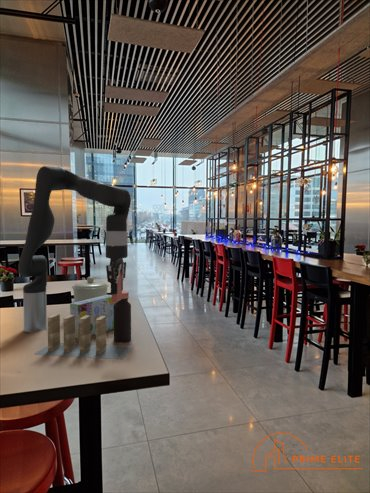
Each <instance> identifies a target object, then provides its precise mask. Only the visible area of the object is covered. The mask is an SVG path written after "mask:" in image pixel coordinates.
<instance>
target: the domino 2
mask: <svg viewBox="0 0 370 493" xmlns="http://www.w3.org/2000/svg"><path fill="white" fill-rule="evenodd" d="M62 321H63V324H62V326H63V343H64V352H69V351H71V350H72V349H73V348H75V344H76V338H75V315H70V314H69V315H67V316H65V317H64V318H63V320H62Z"/></svg>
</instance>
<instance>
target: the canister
mask: <svg viewBox="0 0 370 493" xmlns="http://www.w3.org/2000/svg"><path fill="white" fill-rule="evenodd" d="M109 286H110V285H109V284H108V283H106V282H104V281H97V280H95V278H94V276H88V277H86V281H82V282H77V283H75V284H74V285H72V286H71V289H72V292H73V297H74V298H73V299H74V303H75V302H79V301H83V300H87V299H92V298H96V297H100V296H104V295H108V287H109Z"/></svg>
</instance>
